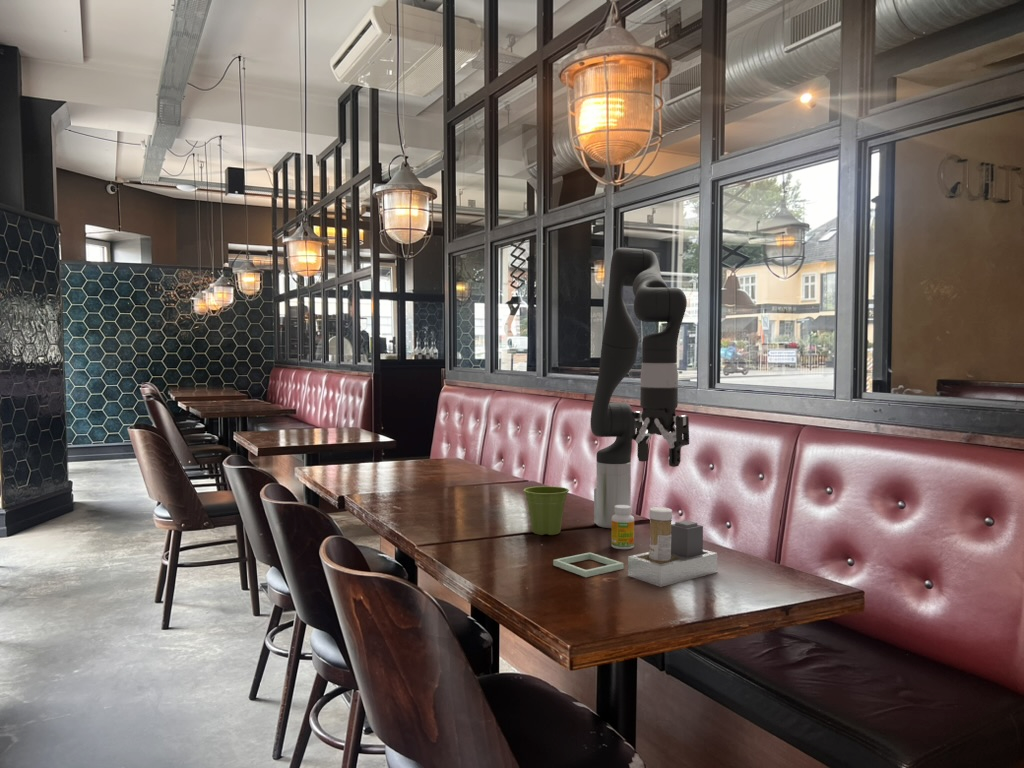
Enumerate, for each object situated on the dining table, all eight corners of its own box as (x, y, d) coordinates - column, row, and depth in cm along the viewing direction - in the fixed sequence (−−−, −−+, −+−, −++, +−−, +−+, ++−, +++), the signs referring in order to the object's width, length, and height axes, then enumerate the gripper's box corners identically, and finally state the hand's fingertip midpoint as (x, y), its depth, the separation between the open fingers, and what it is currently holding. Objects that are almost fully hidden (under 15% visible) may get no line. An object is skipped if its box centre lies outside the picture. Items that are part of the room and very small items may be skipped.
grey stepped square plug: (669, 567, 147) (669, 521, 147) (684, 563, 150) (685, 519, 150) (687, 572, 143) (687, 526, 143) (702, 568, 146) (703, 523, 146)
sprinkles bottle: (645, 570, 144) (646, 506, 144) (666, 570, 145) (668, 506, 144) (652, 577, 140) (653, 511, 139) (674, 577, 140) (675, 511, 140)
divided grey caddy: (628, 575, 143) (628, 556, 143) (683, 562, 153) (684, 544, 153) (660, 587, 136) (660, 566, 136) (717, 572, 146) (717, 553, 146)
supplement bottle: (616, 550, 163) (617, 509, 163) (607, 544, 168) (607, 504, 168) (638, 548, 165) (638, 507, 164) (628, 543, 170) (628, 503, 170)
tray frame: (553, 565, 151) (553, 559, 151) (590, 557, 157) (590, 552, 157) (585, 577, 142) (585, 571, 142) (623, 568, 148) (623, 563, 148)
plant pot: (575, 529, 184) (575, 487, 184) (559, 540, 173) (559, 494, 173) (534, 525, 189) (534, 484, 189) (515, 535, 178) (515, 491, 178)
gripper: (698, 386, 139) (697, 466, 140) (646, 383, 151) (645, 458, 152) (672, 387, 135) (671, 470, 136) (621, 384, 147) (620, 460, 148)
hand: (658, 463), depth 144 cm, fingers open, 8 cm apart
